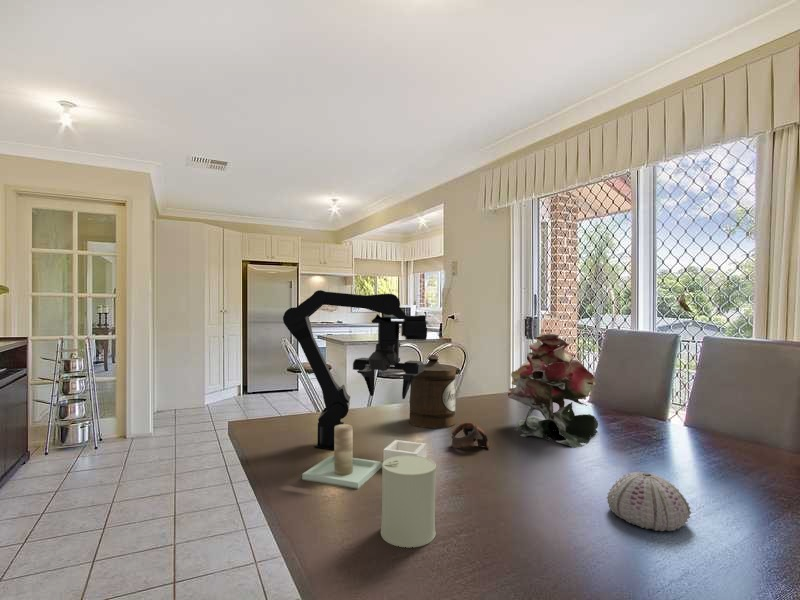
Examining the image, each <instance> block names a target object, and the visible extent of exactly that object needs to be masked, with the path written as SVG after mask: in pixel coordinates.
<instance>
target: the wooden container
mask: <svg viewBox="0 0 800 600" xmlns="http://www.w3.org/2000/svg"><path fill="white" fill-rule="evenodd" d="M427 359H428V360H429V361H428V362H427V363H423V364H424V371H423V372H421V373H419V374H418V375H416V376H415V377H414V378H413V380H412V382H411V384H410V387H409V389H410V391H409V392H410V393H409V423H410V424H412V425H413V426H415V425H416V426H415V427H420V428H424V427H425V429H444V428H449V427H452V426H453V425H455V423H456V375H457V374H456V373H457V369H456V367H455V366H453V365H449V364H443V363H442V364H441V363H439V361H438V360H439V356H438V355H436V354H431V355H428V357H427Z"/></svg>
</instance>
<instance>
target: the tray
mask: <svg viewBox="0 0 800 600" xmlns="http://www.w3.org/2000/svg"><path fill="white" fill-rule="evenodd" d="M382 463H383V461H378V460H373V459H372V460H371V459H364V458H358V457H353V472H352V473H351V474H349V475H336V474H335V473H334V454H330V455H329V456H328V457H327V456H326V457H325V458H324V459H323V460H321V461H319V462H318V463H317V464H314V465H313V466H312V467H311V468H309V469H308V470H306V471H304V472H303V473H302V474H301V475H302V478H301V479H302V481H306V482H307V481H308V482H314V483H320V484H325V485H326V484H327V485H332V486H339V487H344V488H351V489H355V490H359V489H360V488H361V487H363V485H364V484H365V483H366V482H367V481H369V480H370V479H371V478H372V477H373V476H374V475H375V474H376V473H377V472H379V470H380V469H381V470H382Z"/></svg>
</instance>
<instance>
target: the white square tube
mask: <svg viewBox="0 0 800 600" xmlns="http://www.w3.org/2000/svg"><path fill="white" fill-rule="evenodd" d="M427 444H428V443H422V442H417V441H416V442H415V441H408V440H402V439H401V440H400V439H399V440H398V439H394V440H393V441H392V442H390V444H388V445H387V446H386V447H385V448H384V449H383V450H382V451H383V459H382V460H383V461H382V463H383V462H384V461H385V460H386V459H388V458H391V457H395V456H403V455H411V456H420V457H424V458H427V456H428V455H427V449H428V445H427Z"/></svg>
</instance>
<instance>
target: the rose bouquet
mask: <svg viewBox="0 0 800 600" xmlns="http://www.w3.org/2000/svg"><path fill="white" fill-rule="evenodd" d="M533 339H534V340H535V341H536V342H532V343H530V344H529V345H528V346H529V349H530V350H532V352H526V359H527V361H528V362H524V363H522V364H521V365H520V367H518V369H516V370H514V371H511V373H510V377H511V378H512V381H511V385H512V386H514V387H512V388H509V389H508V390H509V392H507V398H509V399H512V400H514V401H516V402H518V403H521V404H523V405H525V406H528V407H530V409H529V411H528V412H527V415H526V418H525V419H521V420H518V421H517V424H518V427H517V428H515V429H513V431H522V433H523V434H522V433H521V434H520V437H523V438H524V437H525V438H526V437H530V436H531V437H536V438H540V439H543V440H547V441H553V438H552V437H549V436H550V435H552V432H557V431H559V432H558V433H559V435H560V436H562V437H563V438H564V439H563V440H555V442H556V443H560V444H562V445H566V446H569V447H571V448H572V449H575V448H583V447H584V446H585V444H588V443H590V440H591V437H592V436H594V435H595V434H597V429H598V428H599V422H598V420H597V417H595V416H594V415H592V414H590V413H589V414H585V413H584V414H583V413H582V414H577V415H575V412H574V410H573V402H574V403H576V404H578V405H582V406H584V405H585V406H586V407H587V406H588V405H587V404H585V403H584V402H581V401H579V400H584V401H586V399H587V397H591V396H592V395H590V393H591V392H592V391H593V387H595V386H596V385H597V378H596V376H594V374H593V373H592V372H590V371H589V370H588V368H587V367H585V365H584V364H583V363H582V362H580V361H579V360H578V359H575V358H574V356H575V354H574V353H572V352H569V351H567V350H566V348H567V347H568V346H570V345H571V343H570V342H569V341H566V340H564V339H562V338H560V335H559V334H555V333H547V334H541V333H539V334H538V335H537V336H535V337H533ZM565 400H568V401H571V402H570V403H569V404H567V405H566V406H565ZM553 403H555V404H556V405H558V410H557V411H555V412H554V404H553ZM535 410H536V411H539V412H540V413H541V415H542V416H543V417H544V418H543V417H539V416H537V415H536V416H535V415H531V414H532V412H533V411H535ZM522 420H525V421H522ZM548 435H549V436H548ZM582 444H583V445H582Z"/></svg>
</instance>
